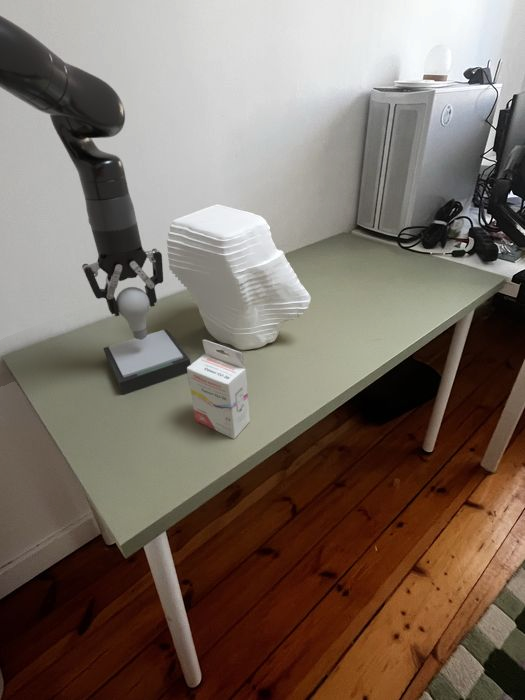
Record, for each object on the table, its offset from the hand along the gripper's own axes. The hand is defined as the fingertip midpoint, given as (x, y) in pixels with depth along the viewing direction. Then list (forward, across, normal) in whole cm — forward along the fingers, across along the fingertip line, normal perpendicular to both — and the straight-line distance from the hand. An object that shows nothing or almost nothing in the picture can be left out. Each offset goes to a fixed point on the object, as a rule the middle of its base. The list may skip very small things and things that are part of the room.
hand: (134, 309), depth 82 cm
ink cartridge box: (+13, +6, -24) cm, 28 cm away
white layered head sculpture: (+13, +21, 0) cm, 25 cm away
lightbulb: (+7, 0, 0) cm, 7 cm away
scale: (+13, 0, 0) cm, 13 cm away
